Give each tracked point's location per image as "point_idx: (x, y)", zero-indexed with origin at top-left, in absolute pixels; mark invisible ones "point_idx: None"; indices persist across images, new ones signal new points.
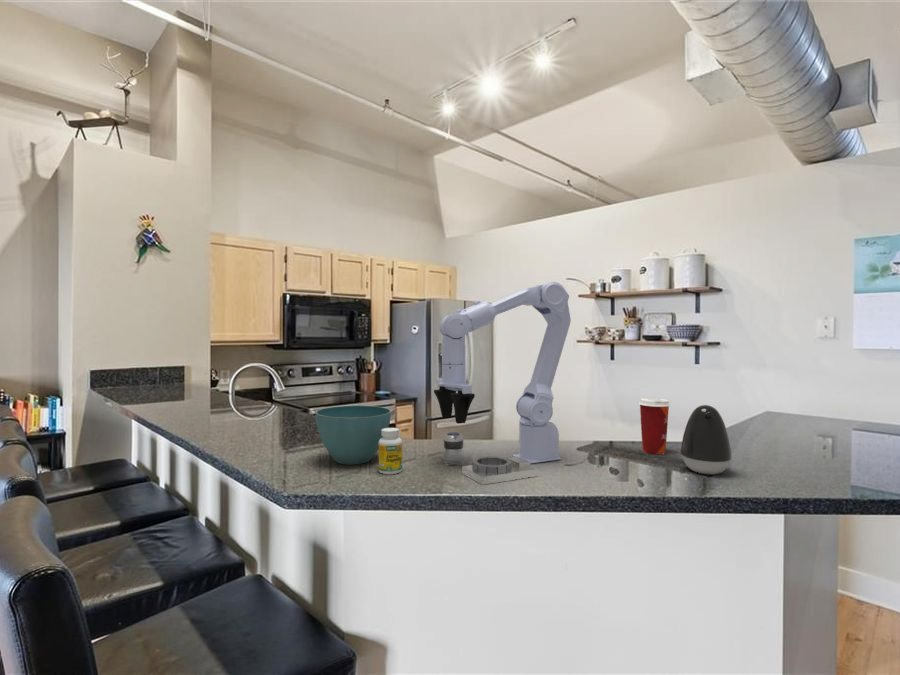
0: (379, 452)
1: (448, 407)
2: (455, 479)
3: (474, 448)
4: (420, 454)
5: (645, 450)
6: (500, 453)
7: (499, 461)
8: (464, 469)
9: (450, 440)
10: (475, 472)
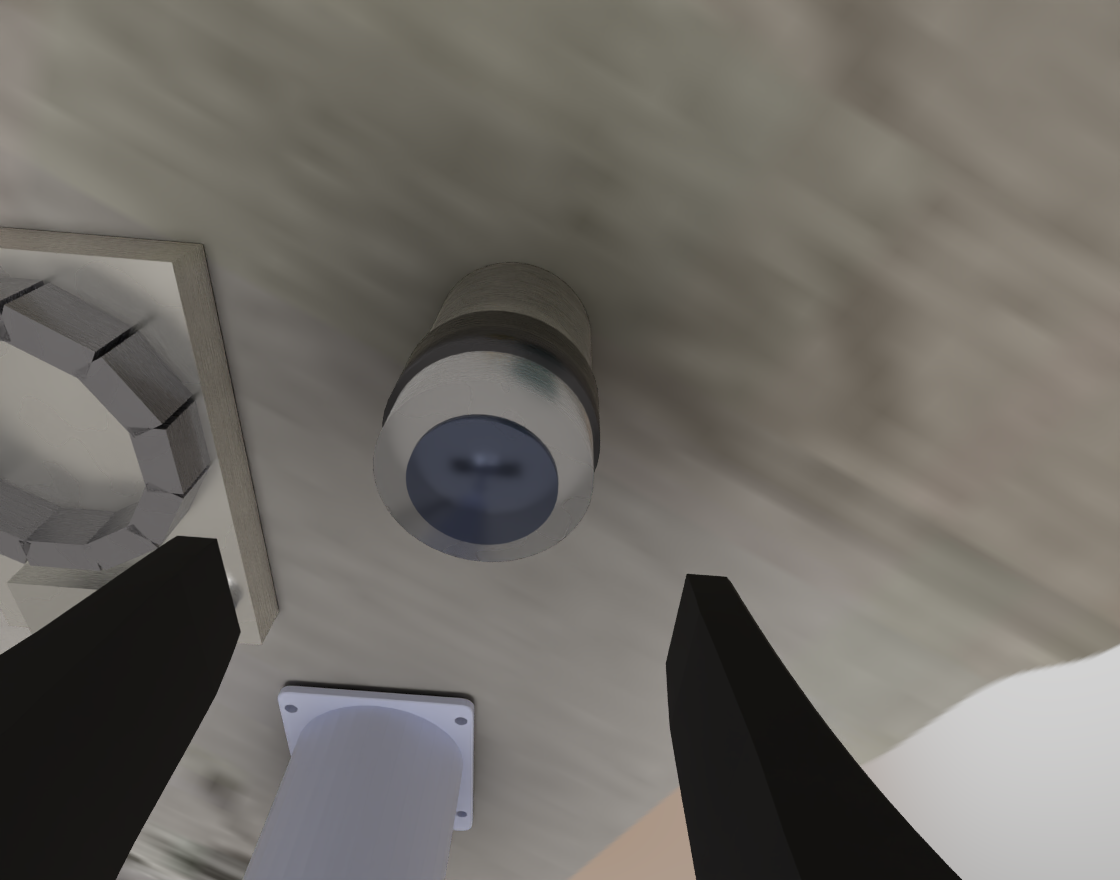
0: None
1: (706, 795)
2: (43, 96)
3: (786, 646)
4: (952, 231)
5: None
6: (578, 690)
7: (114, 522)
8: (141, 254)
9: (415, 380)
10: None
